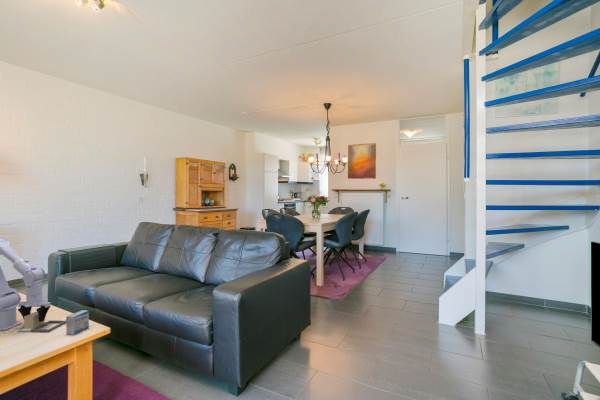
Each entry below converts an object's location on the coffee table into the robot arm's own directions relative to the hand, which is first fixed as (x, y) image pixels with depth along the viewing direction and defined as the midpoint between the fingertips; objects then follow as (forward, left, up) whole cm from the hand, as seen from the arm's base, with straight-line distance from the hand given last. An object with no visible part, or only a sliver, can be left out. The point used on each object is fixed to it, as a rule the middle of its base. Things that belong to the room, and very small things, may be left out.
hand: (34, 321), depth 143 cm
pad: (0, 0, -3) cm, 3 cm away
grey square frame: (+8, 0, -3) cm, 8 cm away
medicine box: (+25, -3, -3) cm, 25 cm away
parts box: (0, 0, -2) cm, 2 cm away
